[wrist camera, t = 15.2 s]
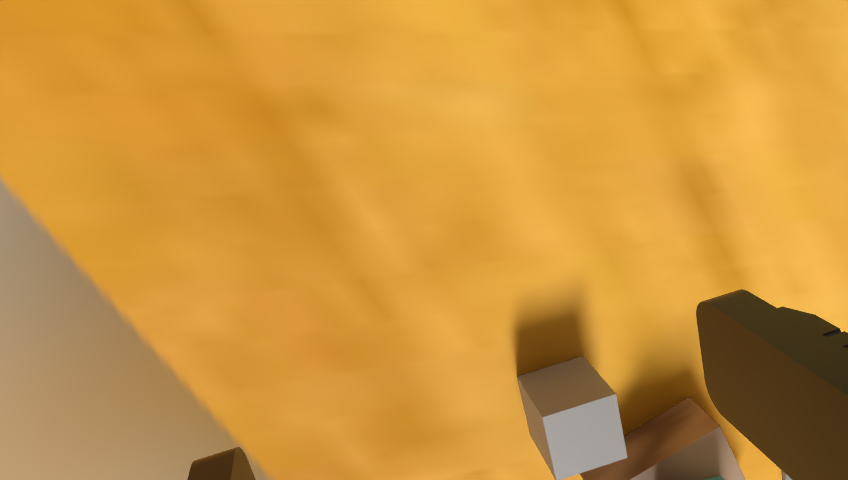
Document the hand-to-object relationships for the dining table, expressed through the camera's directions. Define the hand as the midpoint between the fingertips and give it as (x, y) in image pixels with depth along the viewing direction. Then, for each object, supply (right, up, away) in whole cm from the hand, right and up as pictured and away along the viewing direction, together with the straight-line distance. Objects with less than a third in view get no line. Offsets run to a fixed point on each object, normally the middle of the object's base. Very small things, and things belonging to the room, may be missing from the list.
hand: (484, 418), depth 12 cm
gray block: (+8, -7, +33) cm, 35 cm away
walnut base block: (+15, -13, +37) cm, 42 cm away
